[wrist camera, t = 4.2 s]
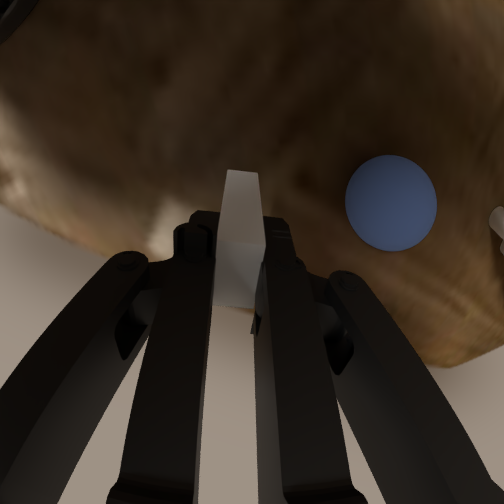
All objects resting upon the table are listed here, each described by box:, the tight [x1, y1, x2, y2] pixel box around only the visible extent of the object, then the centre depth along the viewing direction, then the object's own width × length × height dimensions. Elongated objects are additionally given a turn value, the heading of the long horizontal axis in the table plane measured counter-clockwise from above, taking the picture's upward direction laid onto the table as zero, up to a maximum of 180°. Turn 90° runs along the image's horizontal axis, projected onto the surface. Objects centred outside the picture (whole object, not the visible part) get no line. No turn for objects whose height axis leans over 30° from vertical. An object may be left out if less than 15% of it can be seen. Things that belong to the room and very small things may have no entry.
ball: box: [345, 155, 437, 251], centre depth 17 cm, size 6×6×6 cm
